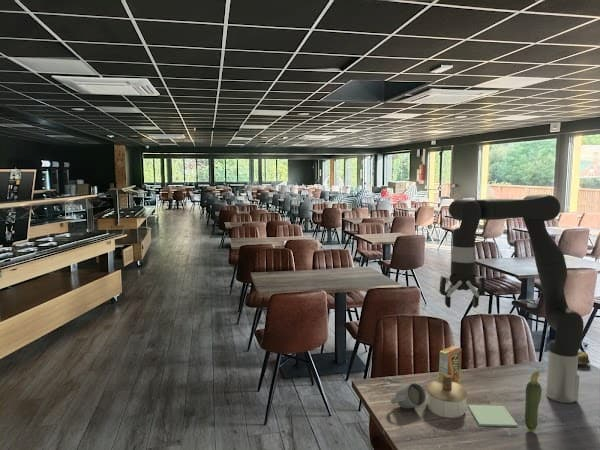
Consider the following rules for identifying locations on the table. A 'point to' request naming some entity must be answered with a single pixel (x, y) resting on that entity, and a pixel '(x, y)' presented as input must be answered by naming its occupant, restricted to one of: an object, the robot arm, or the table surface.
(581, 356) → the cake
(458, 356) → the candy box
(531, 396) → the vegetable
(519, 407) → the table surface
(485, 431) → the table surface
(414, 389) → the ceramic mug
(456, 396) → the lid
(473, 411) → the mat
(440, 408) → the bowl
